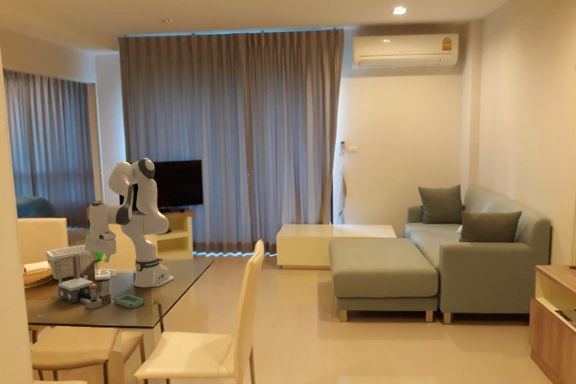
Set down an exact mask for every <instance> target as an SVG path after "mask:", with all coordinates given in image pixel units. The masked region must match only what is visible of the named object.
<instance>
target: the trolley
mask: <svg viewBox="0 0 576 384" xmlns="http://www.w3.org/2000/svg"><path fill="white" fill-rule="evenodd" d="M73 257H76V265H77V278H76V279H74V278H73V279H69V280H65V281H63V280H62V279H63V278H62V276H61V261H60V260H64V259H68V258H73ZM57 261H58V275H59V279H58V284H57V286H58V289H57V292H58V296H59V298H60V300H61V301H67V302H68V303H69V304H74V303H77V302H78V301H79V299H80V303H82V304H84V305H85V307H86V308H89V309H91V310H94V309H97V308H100V307H103V304H102V300H101V299H99V297H97V301H95V302H91V289H90V287H89V285H90V284H93V282H92V281H89V280H88V279H84V278H83V277H81V278H80V268H79V254H75V255H71V256H66V257H62V258H58V259H57ZM82 295H83V297H80V298H79V296H82ZM88 298H90V299H88Z"/></svg>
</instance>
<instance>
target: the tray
mask: <svg viewBox="0 0 576 384" xmlns="http://www.w3.org/2000/svg"><path fill="white" fill-rule="evenodd" d="M115 303H116V304H115ZM114 304H115V305H118V304H119V305H118V306H120V305H121V306H120V307H124V308H126V309H129V310H133V309H136V308H138V307H140V305H141V306H143V305H142V304H144V305H145V299H144V298H142V297H138V296H135V295H132V294H129V293H127V294H124V295H122V296H117V297H115V298H114Z"/></svg>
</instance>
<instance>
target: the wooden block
mask: <svg viewBox="0 0 576 384" xmlns="http://www.w3.org/2000/svg"><path fill="white" fill-rule="evenodd" d="M79 268H80V256H79ZM95 268H96V267H95V261H92V262H91V263H90V264H89V265H88V266H87V268H86V269H85V270H84V271H83V272H82V273H81V270H80V278H82V277H83V276H85V275H87V277H88V279H87V280H89V281H92V282H93V284H96V281H95V270H96V269H95ZM73 273H74V276H73V279H76V278H77V265H76V257H73Z"/></svg>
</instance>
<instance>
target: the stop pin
mask: <svg viewBox="0 0 576 384" xmlns="http://www.w3.org/2000/svg"><path fill="white" fill-rule="evenodd" d="M89 287H90V289H91V297H90V299H91V302H95V301H97V298H98V295H97V287H98V283H95V284H90V285H89Z"/></svg>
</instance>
